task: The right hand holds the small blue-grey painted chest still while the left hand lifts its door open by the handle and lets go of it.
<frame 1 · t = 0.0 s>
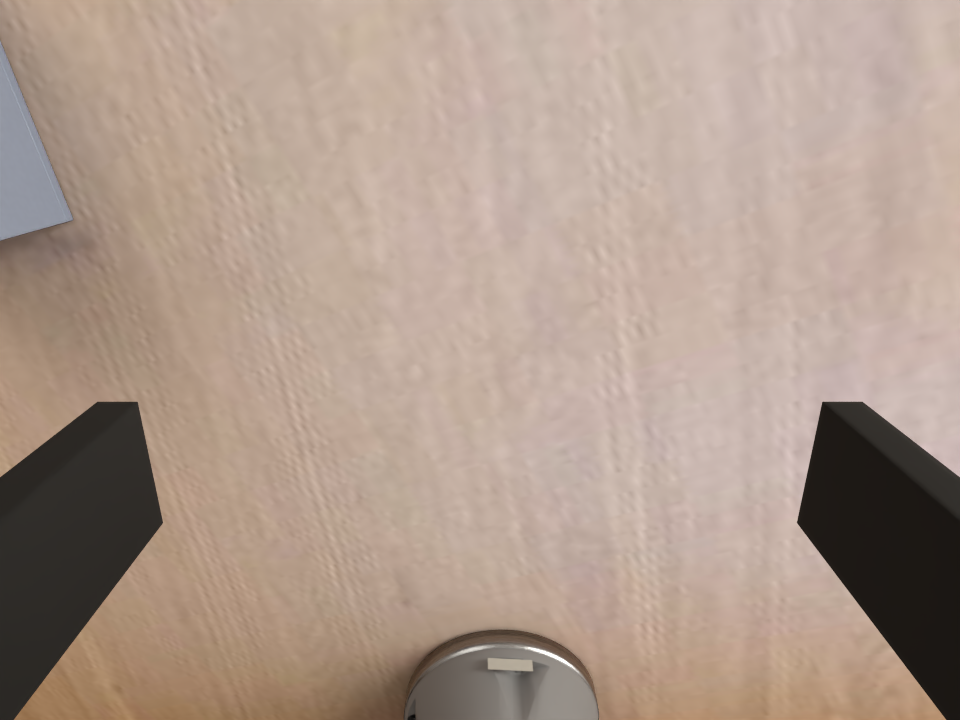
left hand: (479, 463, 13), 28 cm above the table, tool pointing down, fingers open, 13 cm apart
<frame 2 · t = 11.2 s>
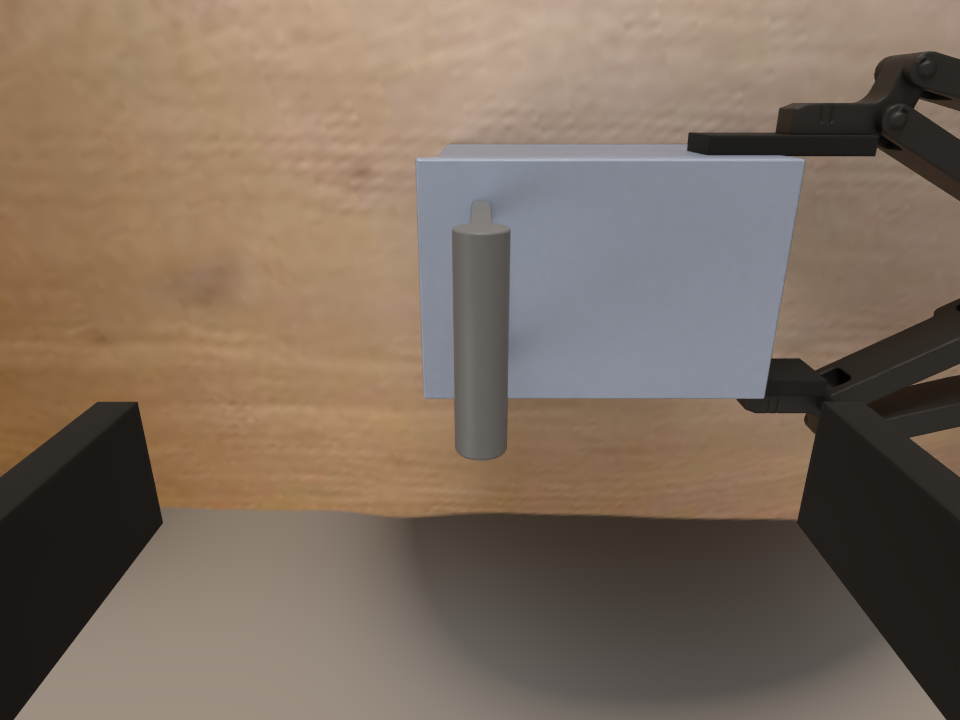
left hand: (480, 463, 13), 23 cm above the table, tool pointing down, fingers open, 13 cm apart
right hand: (683, 268, 28), fingers closed on chest, 9 cm apart
chest: (576, 239, 34), on the table, touching right hand
door: (617, 311, 22), point 13 cm above the table, hinge at 0.0°
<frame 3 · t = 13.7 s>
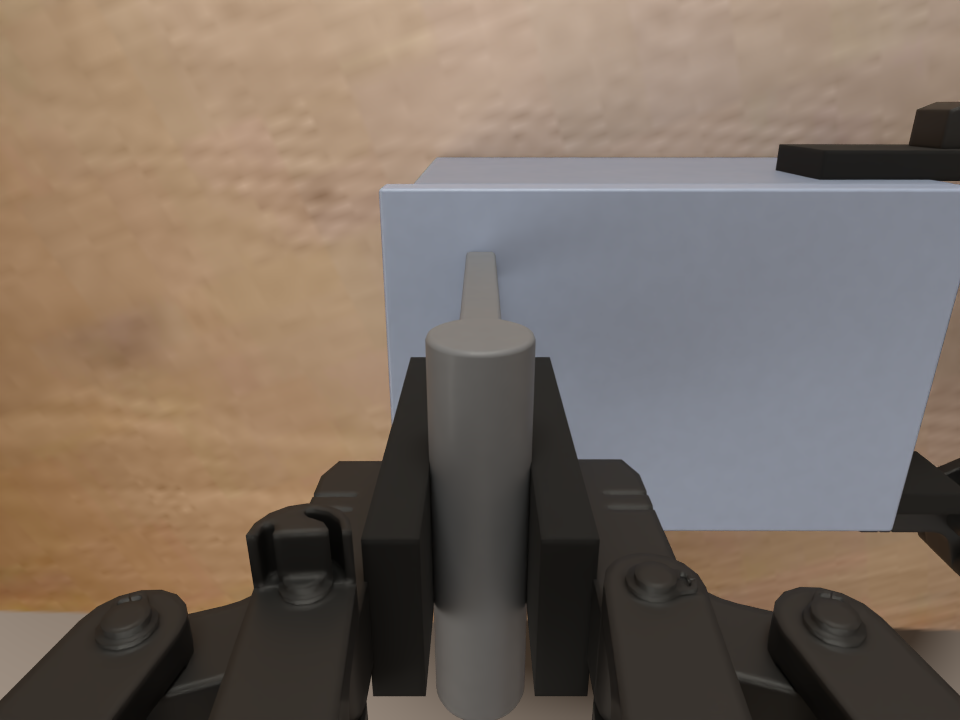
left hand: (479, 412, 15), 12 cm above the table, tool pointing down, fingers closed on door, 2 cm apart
chest: (607, 282, 26), on the table, touching right hand
door: (699, 435, 14), point 13 cm above the table, hinge at 0.0°, touching left hand
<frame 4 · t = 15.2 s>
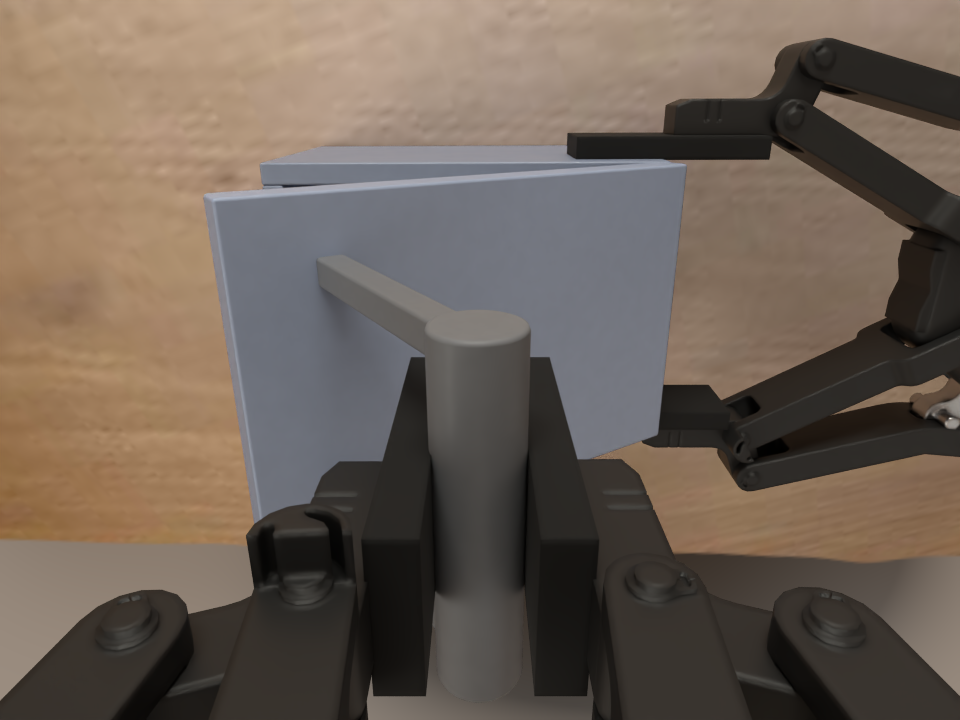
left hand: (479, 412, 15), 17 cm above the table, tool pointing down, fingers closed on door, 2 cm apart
right hand: (565, 286, 25), fingers closed on chest, 9 cm apart
chest: (470, 250, 31), on the table, touching right hand
door: (568, 388, 16), point 16 cm above the table, hinge at 32.2°, touching left hand
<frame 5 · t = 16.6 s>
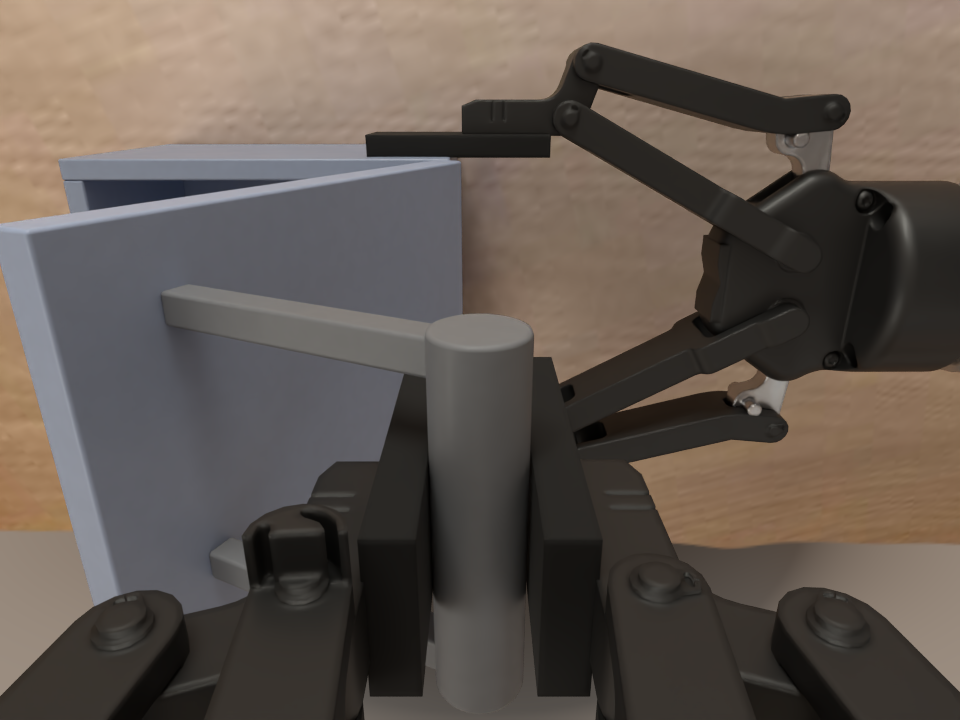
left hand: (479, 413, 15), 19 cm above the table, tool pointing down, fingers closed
right hand: (379, 278, 26), fingers closed on chest, 9 cm apart
chest: (322, 245, 32), on the table, touching right hand
door: (443, 386, 16), point 17 cm above the table, hinge at 63.4°
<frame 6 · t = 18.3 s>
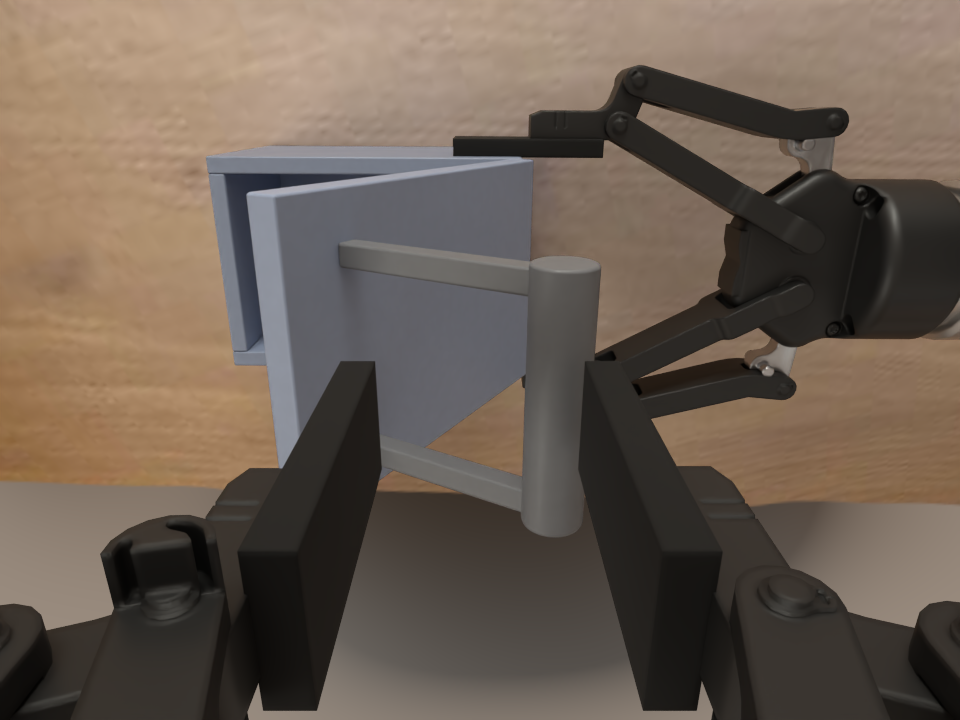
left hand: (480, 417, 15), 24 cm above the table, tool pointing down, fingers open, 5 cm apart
right hand: (455, 258, 31), fingers closed on chest, 9 cm apart
chest: (394, 233, 37), on the table, touching right hand
door: (522, 328, 21), point 17 cm above the table, hinge at 60.0°
when the right hand's fingers open (6 cm above the table, at t = 21.2 s): chest stays where it is, on the table.
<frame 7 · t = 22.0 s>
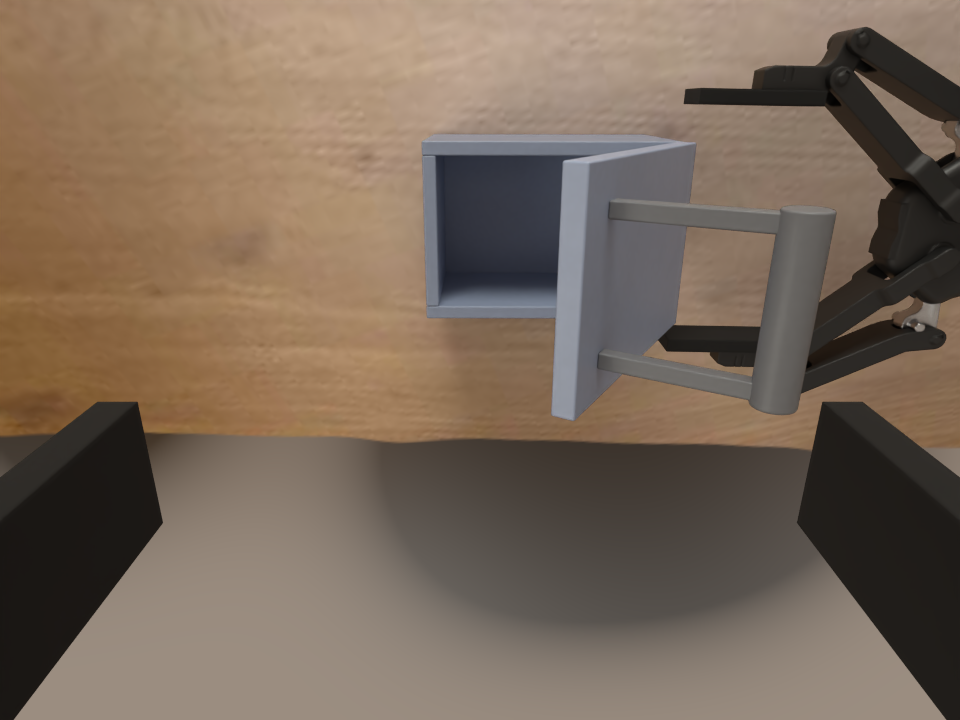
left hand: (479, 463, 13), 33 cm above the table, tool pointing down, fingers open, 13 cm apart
right hand: (674, 225, 37), fingers open, 13 cm apart
chest: (536, 210, 43), on the table
door: (717, 272, 27), point 17 cm above the table, hinge at 59.1°
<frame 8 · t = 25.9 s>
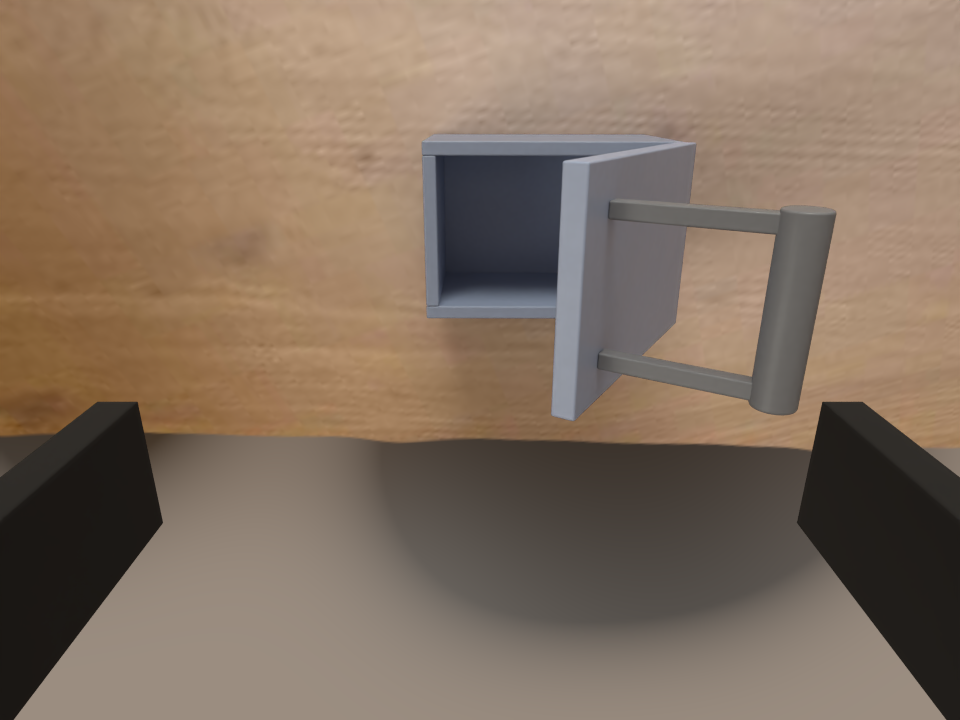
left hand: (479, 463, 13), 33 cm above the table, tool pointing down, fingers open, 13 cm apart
chest: (536, 210, 43), on the table
door: (717, 272, 27), point 17 cm above the table, hinge at 59.1°
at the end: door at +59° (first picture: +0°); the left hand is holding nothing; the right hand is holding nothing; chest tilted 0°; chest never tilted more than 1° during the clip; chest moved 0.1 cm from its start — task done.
